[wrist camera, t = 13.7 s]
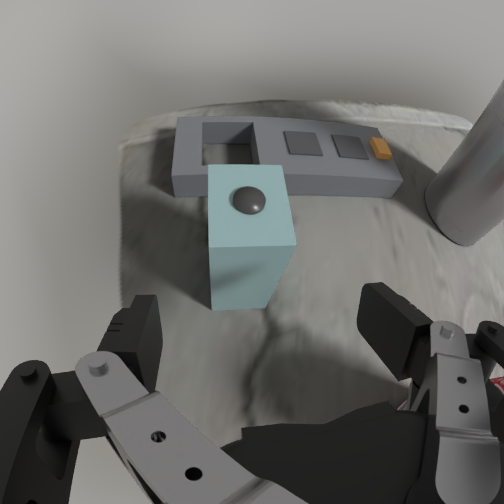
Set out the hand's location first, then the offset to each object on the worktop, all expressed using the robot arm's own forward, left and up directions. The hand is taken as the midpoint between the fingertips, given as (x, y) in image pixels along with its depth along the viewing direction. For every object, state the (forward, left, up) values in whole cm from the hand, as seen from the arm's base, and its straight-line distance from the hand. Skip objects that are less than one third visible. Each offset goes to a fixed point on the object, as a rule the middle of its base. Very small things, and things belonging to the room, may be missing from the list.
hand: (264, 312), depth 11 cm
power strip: (-14, -12, -11) cm, 22 cm away
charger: (-3, -5, -11) cm, 13 cm away
